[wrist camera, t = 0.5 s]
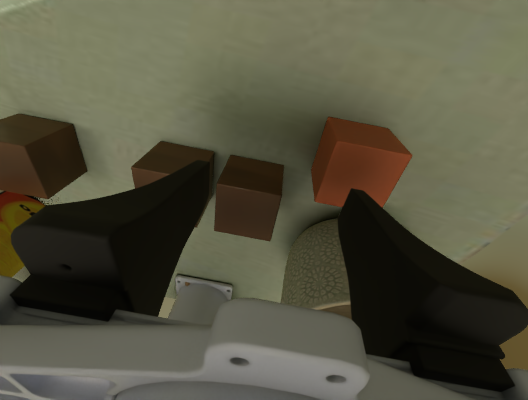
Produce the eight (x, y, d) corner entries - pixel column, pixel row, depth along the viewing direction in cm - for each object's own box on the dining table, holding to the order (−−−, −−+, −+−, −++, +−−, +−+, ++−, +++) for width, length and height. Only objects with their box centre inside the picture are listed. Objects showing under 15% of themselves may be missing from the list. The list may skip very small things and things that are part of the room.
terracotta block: (363, 180, 23) (379, 214, 19) (310, 170, 22) (314, 202, 18) (388, 128, 20) (413, 155, 16) (327, 116, 20) (336, 140, 16)
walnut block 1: (87, 171, 25) (48, 199, 21) (39, 162, 25) (-10, 188, 21) (73, 123, 22) (23, 146, 18) (18, 113, 22) (-44, 133, 18)
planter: (266, 259, 30) (255, 355, 21) (316, 181, 23) (329, 279, 14) (353, 289, 32) (375, 390, 23) (424, 226, 25) (494, 337, 16)
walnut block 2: (212, 195, 25) (196, 227, 21) (164, 186, 25) (140, 217, 21) (214, 151, 22) (196, 179, 18) (160, 140, 22) (130, 166, 18)
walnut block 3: (274, 207, 25) (270, 241, 21) (226, 197, 25) (213, 231, 21) (284, 164, 22) (281, 195, 18) (230, 154, 22) (216, 183, 18)
